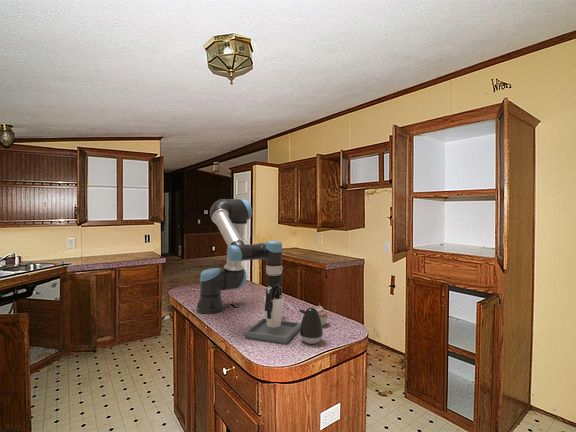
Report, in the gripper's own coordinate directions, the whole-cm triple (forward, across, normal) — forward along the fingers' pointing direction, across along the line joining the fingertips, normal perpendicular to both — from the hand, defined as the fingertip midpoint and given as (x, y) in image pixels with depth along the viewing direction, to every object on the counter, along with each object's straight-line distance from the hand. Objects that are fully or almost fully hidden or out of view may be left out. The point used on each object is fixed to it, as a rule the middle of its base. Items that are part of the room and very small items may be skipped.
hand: (273, 321), depth 155 cm
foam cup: (+2, 0, 0) cm, 2 cm away
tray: (+6, 0, 0) cm, 6 cm away
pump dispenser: (+6, -3, -19) cm, 20 cm away
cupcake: (+6, +19, -17) cm, 26 cm away
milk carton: (+6, +19, +8) cm, 22 cm away
